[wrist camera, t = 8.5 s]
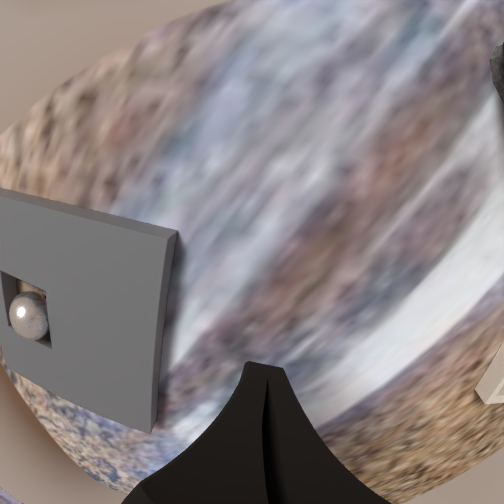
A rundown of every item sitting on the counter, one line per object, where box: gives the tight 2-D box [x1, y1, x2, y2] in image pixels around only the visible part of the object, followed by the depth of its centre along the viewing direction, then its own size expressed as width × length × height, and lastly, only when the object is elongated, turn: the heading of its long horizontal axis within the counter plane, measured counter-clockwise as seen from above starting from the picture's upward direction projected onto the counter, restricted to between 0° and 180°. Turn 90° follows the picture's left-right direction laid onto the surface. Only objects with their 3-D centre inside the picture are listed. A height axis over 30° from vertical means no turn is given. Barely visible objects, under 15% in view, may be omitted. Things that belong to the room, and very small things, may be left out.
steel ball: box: [9, 291, 50, 340], centre depth 19 cm, size 4×4×4 cm
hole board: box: [0, 188, 178, 434], centre depth 20 cm, size 18×17×2 cm
